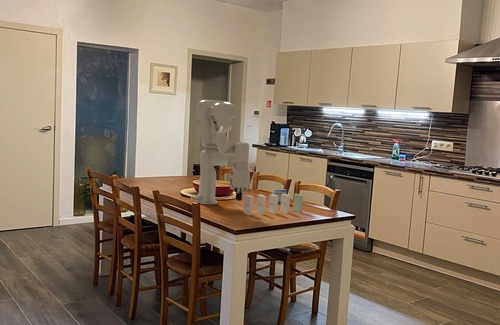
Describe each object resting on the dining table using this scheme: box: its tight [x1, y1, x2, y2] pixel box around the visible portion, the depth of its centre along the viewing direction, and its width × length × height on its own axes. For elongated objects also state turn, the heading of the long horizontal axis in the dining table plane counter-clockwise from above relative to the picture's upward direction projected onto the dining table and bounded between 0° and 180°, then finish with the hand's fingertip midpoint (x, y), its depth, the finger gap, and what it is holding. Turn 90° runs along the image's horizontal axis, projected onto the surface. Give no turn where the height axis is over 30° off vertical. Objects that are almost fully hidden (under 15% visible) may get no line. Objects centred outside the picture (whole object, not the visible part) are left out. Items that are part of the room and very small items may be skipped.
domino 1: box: [243, 194, 254, 216], centre depth 263 cm, size 2×6×10 cm, turn 30°
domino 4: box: [279, 194, 291, 214], centre depth 275 cm, size 2×6×10 cm, turn 30°
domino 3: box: [267, 193, 279, 215], centre depth 271 cm, size 2×6×10 cm, turn 30°
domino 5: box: [292, 193, 304, 214], centre depth 279 cm, size 2×6×10 cm, turn 30°
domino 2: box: [255, 194, 267, 216], centre depth 267 cm, size 2×6×10 cm, turn 31°
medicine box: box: [272, 188, 288, 205], centre depth 303 cm, size 8×4×9 cm, turn 101°
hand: (238, 200), depth 259 cm, fingers closed
